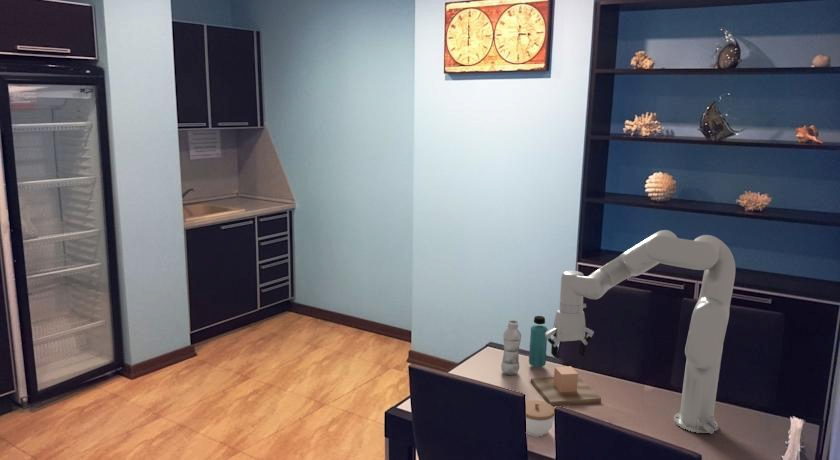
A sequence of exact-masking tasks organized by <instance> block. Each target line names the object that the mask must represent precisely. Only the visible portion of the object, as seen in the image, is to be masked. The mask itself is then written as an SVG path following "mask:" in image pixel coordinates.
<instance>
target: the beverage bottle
mask: <svg viewBox="0 0 840 460" xmlns="http://www.w3.org/2000/svg"><path fill="white" fill-rule="evenodd" d="M533 323H535V324H533V325H532V326H531V327H530V336H529V338H530V339H529V351H528V354H529V355H528V364H529V365H530V366H532V367H536V368H541V367H545V366H546V362H547V348H548V347H547V345H548V340H547V338H546V336H545V333H546V332H548V331H549V330H548V327H547V326H546V325H545V324H546V317H544V316H542V315H535V316H534V318H533Z"/></svg>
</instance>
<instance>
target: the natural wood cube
mask: <svg viewBox="0 0 840 460" xmlns="http://www.w3.org/2000/svg"><path fill="white" fill-rule="evenodd" d="M553 370H554V373H553V377H554V384H553V385H554V386H555V387H556V388H557V389H558V390H559V391H560V392H573V391H577V384H578V376H579V373H578V371H576V370H575V369H574V368H573V367H572V366H570V365H569V366H554V369H553Z"/></svg>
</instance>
